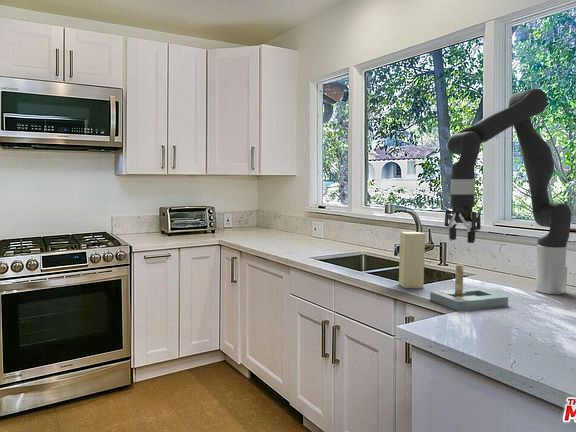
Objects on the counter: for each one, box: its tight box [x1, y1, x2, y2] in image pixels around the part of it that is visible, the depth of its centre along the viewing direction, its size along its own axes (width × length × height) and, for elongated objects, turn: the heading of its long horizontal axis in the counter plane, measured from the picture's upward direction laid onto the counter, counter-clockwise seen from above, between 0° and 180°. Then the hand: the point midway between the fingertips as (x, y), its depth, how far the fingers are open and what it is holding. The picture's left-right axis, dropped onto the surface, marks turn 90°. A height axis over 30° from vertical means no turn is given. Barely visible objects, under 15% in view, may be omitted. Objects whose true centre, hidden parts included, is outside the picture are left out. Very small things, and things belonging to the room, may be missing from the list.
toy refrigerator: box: [398, 231, 426, 289], centre depth 171 cm, size 8×7×21 cm
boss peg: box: [454, 264, 465, 297], centre depth 146 cm, size 5×5×13 cm
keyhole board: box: [429, 287, 509, 312], centre depth 147 cm, size 20×14×3 cm
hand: (461, 241), depth 147 cm, fingers open, 8 cm apart
